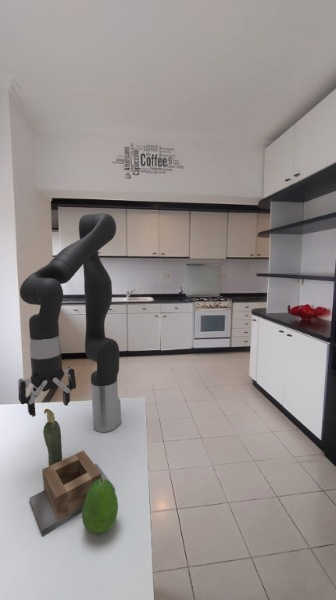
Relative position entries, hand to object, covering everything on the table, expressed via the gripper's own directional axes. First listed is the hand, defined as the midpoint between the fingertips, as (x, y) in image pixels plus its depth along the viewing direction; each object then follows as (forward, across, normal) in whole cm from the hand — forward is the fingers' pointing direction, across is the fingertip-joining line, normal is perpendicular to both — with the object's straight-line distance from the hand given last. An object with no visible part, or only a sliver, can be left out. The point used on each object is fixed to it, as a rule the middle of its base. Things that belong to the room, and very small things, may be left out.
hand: (50, 409), depth 75 cm
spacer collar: (+20, -1, +11) cm, 23 cm away
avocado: (+20, -3, +23) cm, 31 cm away
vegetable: (+20, 0, 0) cm, 20 cm away
